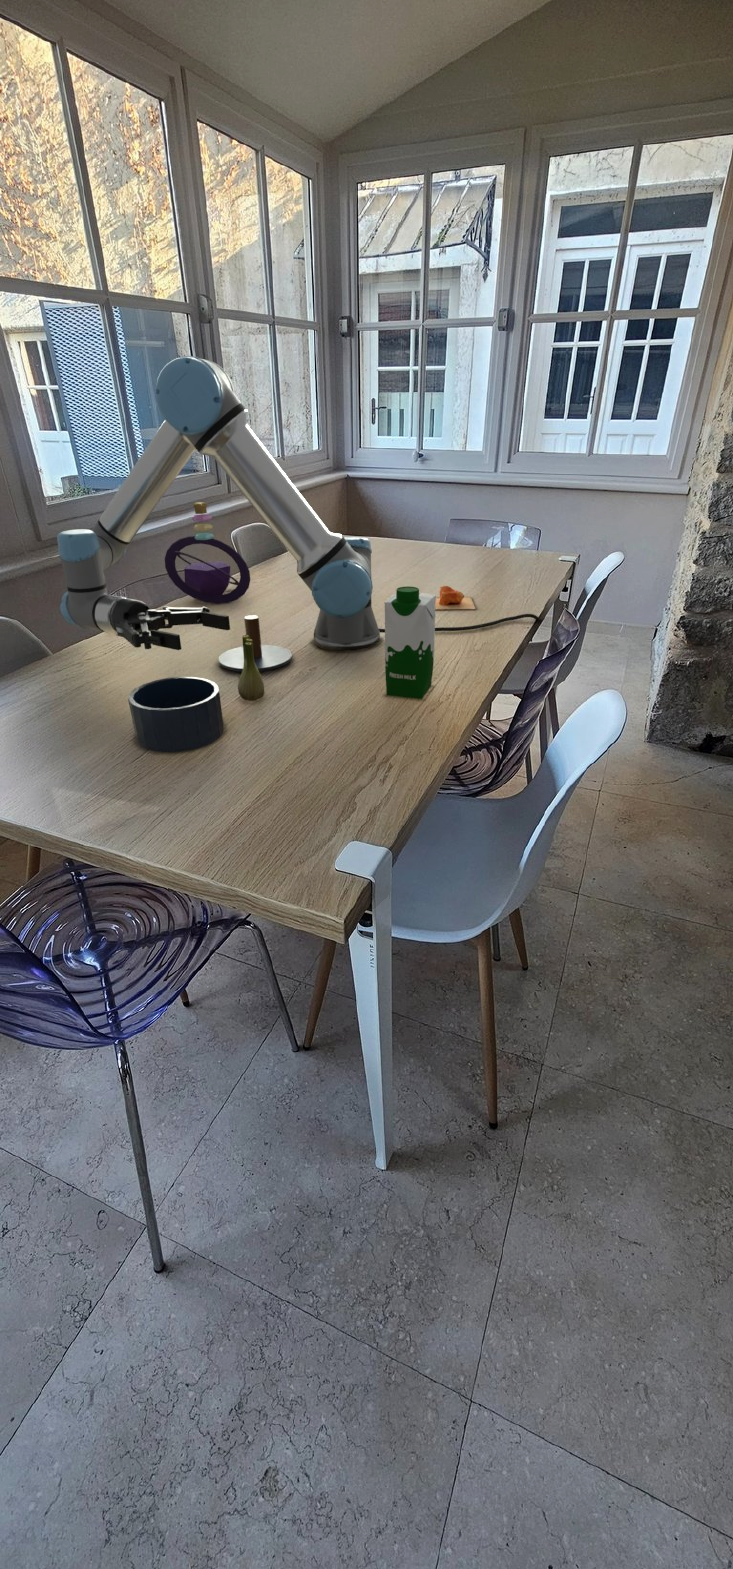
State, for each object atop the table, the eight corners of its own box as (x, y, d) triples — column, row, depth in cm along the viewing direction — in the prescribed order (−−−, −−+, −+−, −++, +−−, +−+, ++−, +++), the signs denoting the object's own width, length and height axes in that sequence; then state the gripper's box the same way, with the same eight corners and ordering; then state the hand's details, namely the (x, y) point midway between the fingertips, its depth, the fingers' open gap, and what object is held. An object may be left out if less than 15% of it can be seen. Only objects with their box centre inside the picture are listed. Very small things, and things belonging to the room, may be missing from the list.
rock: (475, 609, 183) (476, 593, 181) (429, 610, 183) (429, 593, 181) (470, 597, 193) (471, 582, 191) (426, 598, 194) (426, 582, 192)
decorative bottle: (178, 610, 187) (163, 511, 174) (165, 592, 203) (150, 501, 191) (259, 600, 194) (250, 504, 182) (240, 584, 211) (231, 495, 199)
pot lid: (274, 645, 160) (271, 603, 155) (303, 665, 148) (301, 620, 143) (209, 657, 153) (203, 614, 148) (234, 679, 141) (228, 633, 137)
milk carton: (380, 696, 132) (379, 590, 122) (394, 680, 140) (395, 579, 130) (425, 702, 130) (428, 594, 120) (437, 685, 137) (441, 582, 127)
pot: (208, 709, 128) (202, 671, 124) (236, 739, 117) (231, 698, 113) (127, 727, 122) (119, 687, 118) (149, 760, 111) (140, 717, 107)
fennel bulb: (259, 705, 129) (253, 643, 124) (234, 703, 130) (227, 641, 124) (269, 693, 134) (263, 633, 128) (245, 692, 135) (238, 631, 129)
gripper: (171, 619, 152) (248, 634, 142) (78, 652, 133) (159, 672, 124) (166, 585, 148) (244, 597, 139) (69, 613, 129) (152, 630, 120)
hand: (204, 632), depth 131 cm, fingers open, 13 cm apart
